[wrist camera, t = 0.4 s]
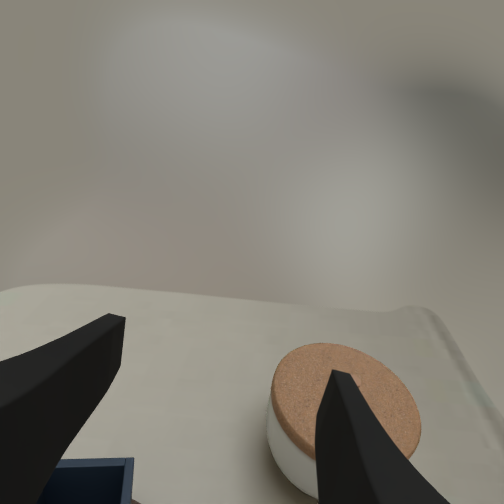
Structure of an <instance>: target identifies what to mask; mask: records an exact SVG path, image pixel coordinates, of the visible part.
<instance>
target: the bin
mask: <svg viewBox="0 0 504 504" xmlns="http://www.w3.org/2000/svg"><path fill="white" fill-rule="evenodd" d="M133 471H134V458H126V459H125V458H96V459H60V461H59V462H58V464H57V466H56V468H55V469H54V471H53V473H52V475H51V476H50V478H49V480H48V482H47V484H46V485H45V487H44V489H43V491H42V493H41V494H40V496H39V498H38V500H37V502H36V504H131V498H132V485H133Z"/></svg>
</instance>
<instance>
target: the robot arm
mask: <svg viewBox="0 0 504 504" xmlns="http://www.w3.org/2000/svg"><path fill="white" fill-rule="evenodd" d="M125 320H126V317H122V316H118V315H114V314H110V313H108V314H106V315H104V316H102V317H100V318H98V319H96V320H94V321H92V322H90V323H89V324H87V325H85V326H83V327H81V328H79V329H77V330H75V331H73V332H71V333H69V334H67V335H65V336H63V337H61V338H58V339H56V340H54V341H52V342H49V343H47V344H45V345H43V346H40V347H38V348H36V349H34V350H31V351H29V352H26V353H23V354H21V355H18V356H15V357H12V358H9V359H6V360H3V361H0V504H36V502H37V500H38V498H39V496H40V494H41V493H42V491H43V489H44V487H45V485H46V484H47V482H48V480H49V478H50V476H51V475H52V473H53V471H54V469H55V468H56V466H57V464H58V462H59V461H60V459H61V457H62V456H63V454H64V453H65V451H66V449H67V448H68V446H69V445H70V443H71V442H72V441H73V439H74V438H75V436H76V435H77V433H78V432H79V431H80V429H81V428H82V426H83V425H84V424H85V422H86V421H87V419H88V418H89V417H90V415H91V414H92V412H93V411H94V410H95V408H96V407H97V405H98V404H99V402H100V401H101V400H102V398H103V397H104V395H105V394H106V392H107V391H108V389H109V387H110V385H111V383H112V382H113V380H114V378H115V376H116V374H117V372H118V370H119V368H120V366H121V357H122V348H123V338H124V329H125ZM315 458H316V473H317V487H318V500H319V504H450V503H449V502H448V501H447V500H446V499H445V498H444V497H443V496H442V495H440V494H439V493H438V492H437V491H436V490H435V488H434V487H433V486H432V485H431V484H430V483H429V482H428V481H427V480H426V479H425V478H424V477H423V476H422V475H421V474H420V473H419V472H418V471H417V470H416V469H415V467H414V466H413V465H412V464H411V463H410V462H409V460H408V459H407V458H406V457H405V456H404V454H403V453H402V452H401V451H400V450H399V448H398V447H397V446H396V444H395V443H394V442H393V440H392V439H391V438H390V436H389V435H388V434H387V432H386V431H385V429H384V428H383V426H382V425H381V424H380V422H379V421H378V419H377V418H376V416H375V414H374V413H373V411H372V410H371V408H370V406H369V405H368V403H367V401H366V400H365V398H364V396H363V395H362V393H361V391H360V390H359V388H358V386H357V384H356V383H355V381H354V379H353V378H352V376H351V374H350V373H346V372H342V371H338V370H334V369H332V371H331V374H330V377H329V380H328V383H327V386H326V388H325V391H324V394H323V397H322V400H321V403H320V406H319V409H318V412H317V415H316V426H315Z"/></svg>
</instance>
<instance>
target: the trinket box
mask: <svg viewBox="0 0 504 504" xmlns="http://www.w3.org/2000/svg"><path fill="white" fill-rule="evenodd" d="M332 369H334V370H338V371H342V372H346V373H350V374H351V376H352V378H353V379H354V381H355V383H356V384H357V386H358V388H359V390H360V391H361V393H362V395H363V396H364V398H365V400H366V401H367V403H368V405H369V406H370V408H371V410H372V411H373V413H374V414H375V416H376V418H377V419H378V421H379V422H380V424H381V425H382V426H383V428H384V429H385V431H386V432H387V434H388V435H389V436H390V438H391V439H392V440H393V442H394V443H395V444H396V446H397V447H398V448H399V450H400V451H401V452H402V453H403V454H404V456H405V457H406V458H407V459H409V458H410V457H411V456H412V454H413V453H414V451H415V450H416V447H417V445H418V443H419V440H420V436H421V420H420V415H419V411H418V409H417V406H416V403H415V401H414V399H413V397H412V395H411V393H410V392H409V391H408V389H407V388H406V386H405V385H404V384H403V383H402V381H401V380H400V379H399V378H398V377H397V376H396V375H395V374H394V373H393V372H392V371H391V370H390V369H388V368H387V367H386V366H385V365H383V364H382V363H381V362H379V361H378V360H376V359H374V358H373V357H371V356H369V355H367V354H365V353H363V352H361V351H358V350H356V349H353V348H350V347H347V346H343V345H338V344H331V343H316V344H309V345H304V346H302V347H299V348H297V349H295V350H293V351H291V352H290V353H288V354H287V355H286V356H285V357H284V358H283V359H282V360H281V362H280V363H279V364H278V366H277V369H276V371H275V373H274V376H273V381H272V386H271V392H270V396H269V400H268V406H267V413H266V432H267V438H268V443H269V446H270V449H271V452H272V455H273V457H274V459H275V461H276V463H277V465H278V467H279V468H280V470H281V471H282V472H283V474H284V475H285V476H286V477H287V478H288V480H289V481H290V482H291V483H292V484H293V485H295V486H296V487H297V488H298V489H300V490H301V491H303V492H304V493H306V494H307V495H309V496H312V497H314V498H316V499H318V487H317V473H316V458H315V426H316V415H317V412H318V409H319V406H320V403H321V400H322V397H323V394H324V391H325V388H326V386H327V383H328V380H329V377H330V374H331V371H332Z"/></svg>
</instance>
